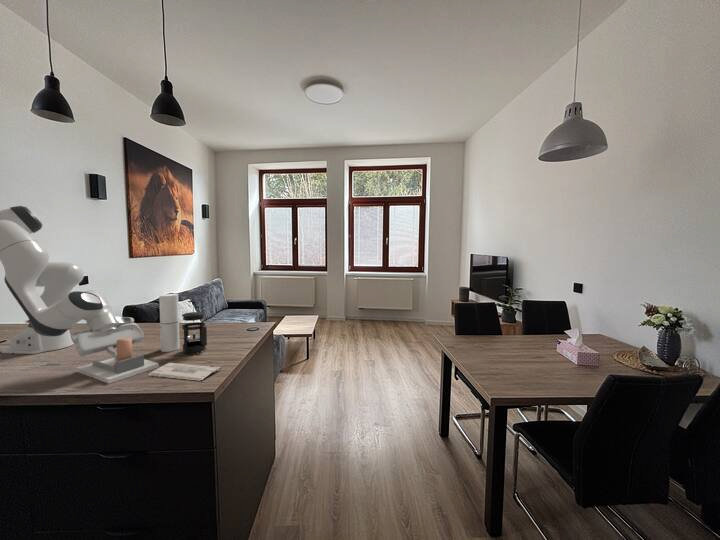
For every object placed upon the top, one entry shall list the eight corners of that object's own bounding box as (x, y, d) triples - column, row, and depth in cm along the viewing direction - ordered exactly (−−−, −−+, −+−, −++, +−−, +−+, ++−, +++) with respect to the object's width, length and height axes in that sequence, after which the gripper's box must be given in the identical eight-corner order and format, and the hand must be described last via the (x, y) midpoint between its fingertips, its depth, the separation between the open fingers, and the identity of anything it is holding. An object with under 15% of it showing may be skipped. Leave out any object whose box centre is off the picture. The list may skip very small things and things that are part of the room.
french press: (175, 352, 128) (174, 301, 127) (194, 346, 137) (193, 298, 136) (196, 356, 125) (195, 302, 123) (213, 349, 134) (213, 299, 132)
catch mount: (77, 371, 107) (76, 357, 107) (126, 357, 122) (126, 344, 121) (108, 383, 98) (108, 367, 97) (158, 367, 112) (158, 353, 112)
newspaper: (224, 369, 112) (224, 363, 112) (201, 386, 100) (201, 380, 100) (173, 364, 116) (173, 358, 116) (146, 380, 105) (145, 373, 104)
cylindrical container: (170, 352, 129) (168, 296, 127) (156, 351, 130) (155, 295, 129) (183, 347, 136) (181, 294, 134) (170, 346, 137) (168, 293, 136)
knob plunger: (113, 367, 106) (112, 340, 106) (129, 363, 111) (128, 337, 110) (121, 370, 104) (120, 342, 104) (136, 365, 109) (135, 338, 108)
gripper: (71, 328, 101) (87, 360, 98) (137, 316, 120) (152, 343, 116) (66, 339, 104) (81, 371, 100) (131, 326, 122) (146, 352, 119)
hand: (119, 356), depth 108 cm, fingers closed, pressing on knob plunger
